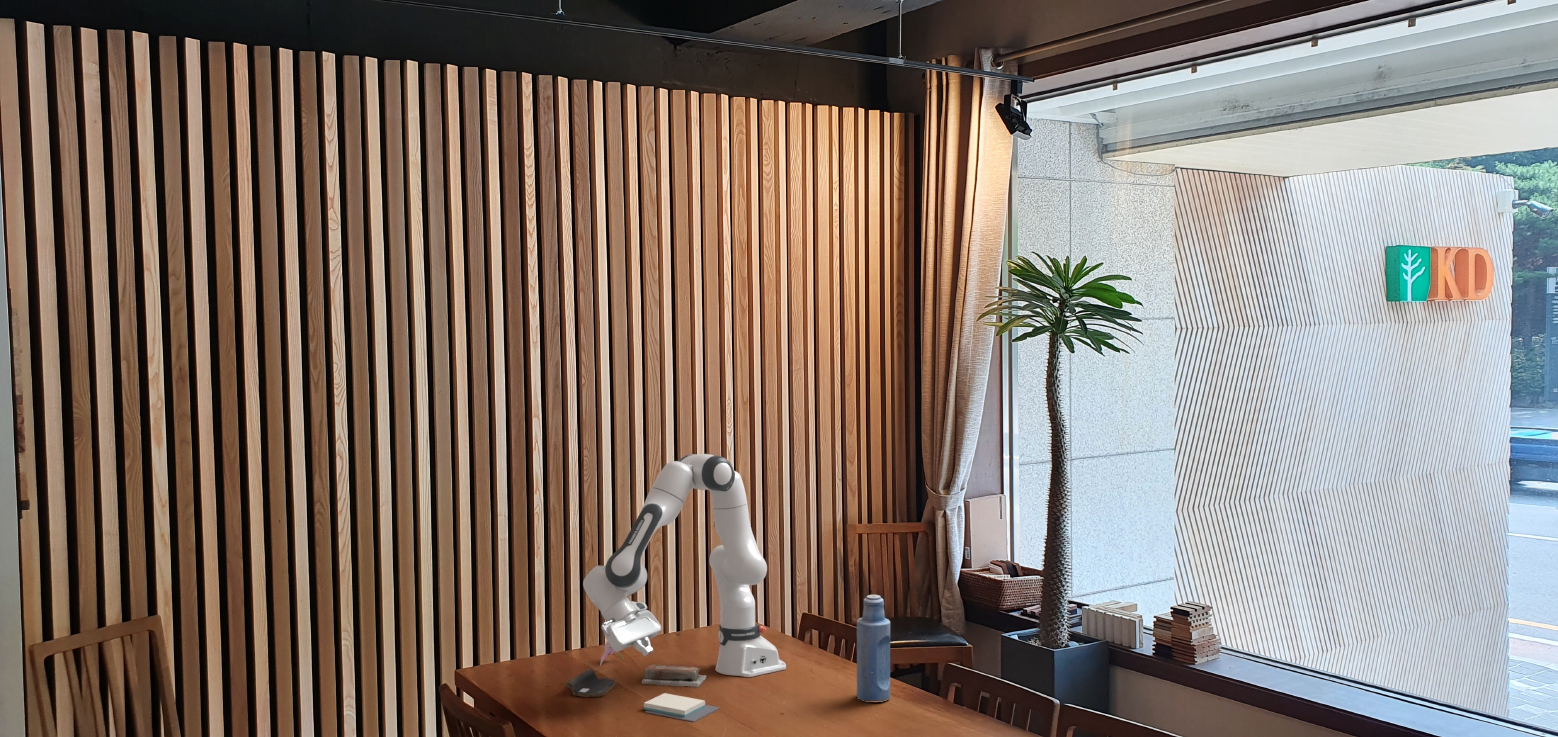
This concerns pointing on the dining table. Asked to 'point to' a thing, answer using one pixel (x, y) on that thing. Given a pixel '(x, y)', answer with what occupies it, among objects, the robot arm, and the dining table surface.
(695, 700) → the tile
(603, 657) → the lily
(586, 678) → the pottery fragment
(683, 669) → the packaged product
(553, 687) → the dining table surface
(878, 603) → the bottle
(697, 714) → the mat
